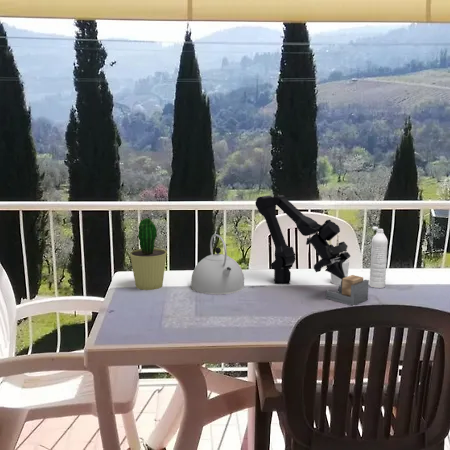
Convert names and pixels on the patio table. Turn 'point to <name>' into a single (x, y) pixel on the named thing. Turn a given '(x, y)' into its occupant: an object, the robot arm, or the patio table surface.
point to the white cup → (345, 268)
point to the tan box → (349, 283)
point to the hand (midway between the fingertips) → (344, 279)
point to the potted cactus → (148, 258)
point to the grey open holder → (357, 294)
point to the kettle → (217, 274)
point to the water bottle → (378, 259)
